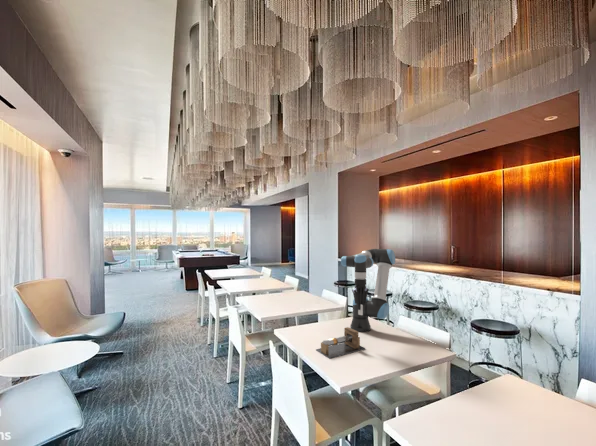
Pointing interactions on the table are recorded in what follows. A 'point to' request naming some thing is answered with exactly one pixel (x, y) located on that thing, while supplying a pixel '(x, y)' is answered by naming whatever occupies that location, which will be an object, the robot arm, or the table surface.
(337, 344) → the pipe rig
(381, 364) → the table surface
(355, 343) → the collar
